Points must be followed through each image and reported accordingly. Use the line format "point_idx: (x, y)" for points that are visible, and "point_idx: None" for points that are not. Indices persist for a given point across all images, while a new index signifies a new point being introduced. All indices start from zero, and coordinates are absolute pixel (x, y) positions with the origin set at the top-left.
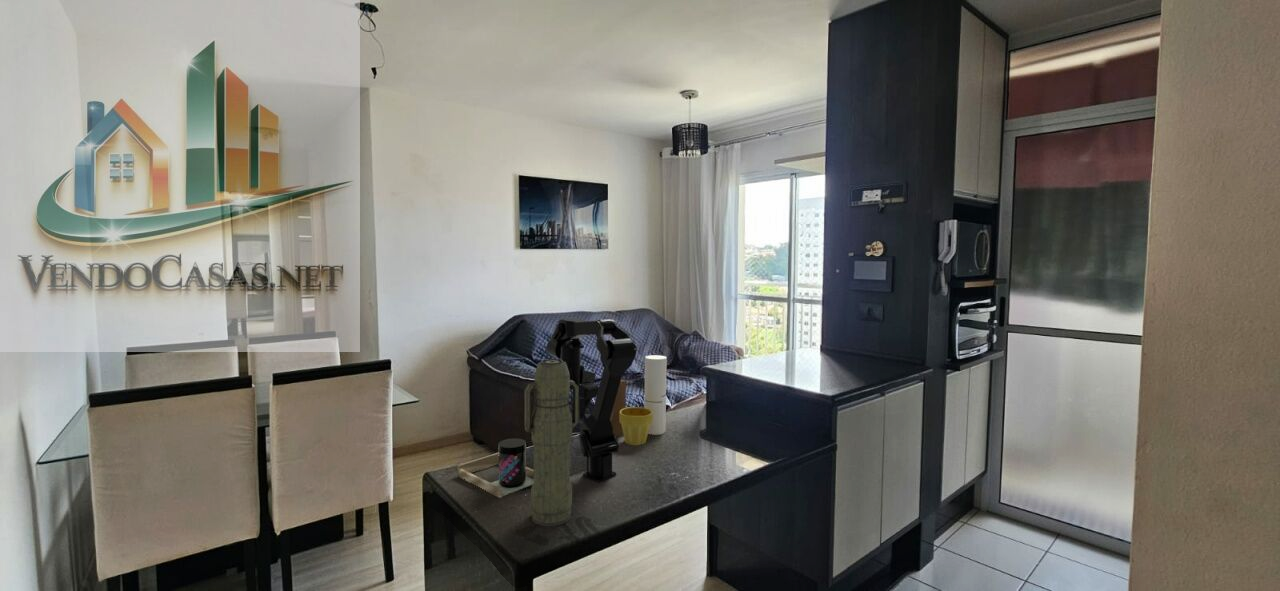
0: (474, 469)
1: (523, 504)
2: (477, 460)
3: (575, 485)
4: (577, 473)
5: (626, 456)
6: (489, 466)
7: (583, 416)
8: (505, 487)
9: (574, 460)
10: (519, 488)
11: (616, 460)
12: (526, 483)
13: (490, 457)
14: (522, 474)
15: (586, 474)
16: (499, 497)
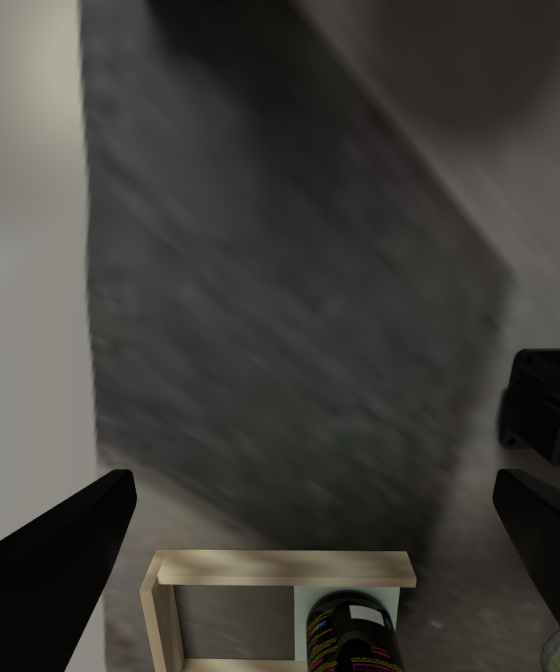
0: (176, 639)
1: (477, 654)
2: (166, 666)
3: None
4: (464, 439)
5: (545, 121)
6: (172, 590)
7: (542, 486)
8: None
9: (354, 358)
10: (395, 622)
11: (527, 213)
12: (384, 595)
13: (160, 622)
14: (401, 656)
15: (524, 443)
16: None
